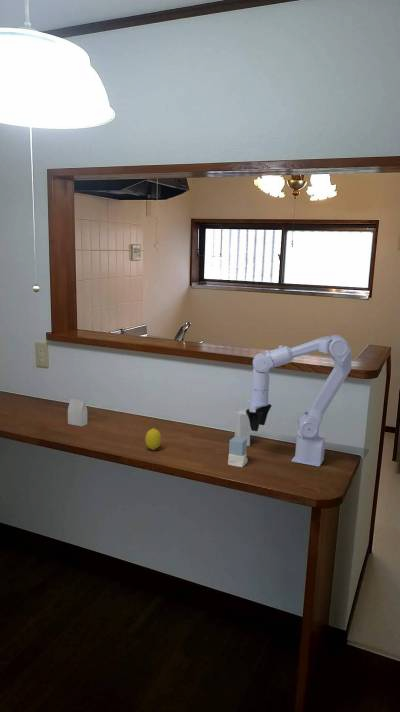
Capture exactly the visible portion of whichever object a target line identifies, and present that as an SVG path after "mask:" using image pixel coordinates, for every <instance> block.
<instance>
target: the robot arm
mask: <svg viewBox="0 0 400 712" xmlns="http://www.w3.org/2000/svg"><path fill="white" fill-rule="evenodd" d="M316 352H320V353H324V354H328V353H330V355H331V358H332V361H333V364H334V367H333V369H332V370H331V372H330V373H329V375H328V377H327V378H326V380H325V381H324V383H323V385H322V387H321V389H320V390H319V392H318V393H317V395H316V397H315V398H314V400H313V401H312V404H311V405H310V406H308V407H307V409H306V411H305V412H303V413H302V414H300V415H299V416H298V419H297V424H298V427H299V430H298V431H297V432H296V438H295V439H296V440H295V441H296V442H295V454H294V456H293V458H292V459H291V462H292V463H298V464H304V465H309V466H312V467H313V466H315V467H321V465H322V463H323V461H324V458H325V448H326V447H325V446H326V438H324V437H321V436H319V431H320V425H321V424H322V422H323V418H324V414H325V412H326V411H327V409H328V408H329V406H330V405H331V403H332V402H333V400H334V398H335V397H336V395H337V393H338V391H339V390H340V388H341V387H342V385H343V383H344V381H345V379H347V377H348V376H349V373H350V372H351V370H352V349H351V346H350V344H349V343H348V340H346V339H345V338H344V337H343V336H342V335H340V334H331V335H330V336H329V335H327V336H323V337H322V336H321V337H319V338H317V339H314V340H310V341H307V342H304V343H302V344H299V345H297V346H293V347H290V346H287V345H284V346H283V345H282V344H281V345H278V347H277V348H275V349H271V350H268V349H267V350H265V351H264V352H259V353H257V354H255V355H254V357H253V360H252V367H253V369H252V376H251V392H250V393H251V395H250V396H251V397H250V399H248V400H247V403H249V404H250V406H249V408H247V409H245V410H246V414H247V415H248V418H249V421H250V432H251V431H253V432H258V431H259V428H260V426H265V425H266V421H267V418H268V415H269V414H268V413H269V412H270V410H271V408H272V404H269V387H270V375H269V374H270V369H272V368H276V367H280V366H283V365H287V364H290V363H292V362H293V360H294V358H296V357H301V356H303V355H304V356H305V355H307V354H313V353H316Z"/></svg>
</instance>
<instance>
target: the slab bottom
mask: <svg viewBox="0 0 400 712" xmlns="http://www.w3.org/2000/svg"><path fill="white" fill-rule="evenodd" d="M247 463H248V457H246V458H245V460H244V462H235V461H228V460H227V465H228V466H229V465H230V466H234V467H239V468H243V467H245V465H246V464H247Z"/></svg>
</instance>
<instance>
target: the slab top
mask: <svg viewBox="0 0 400 712" xmlns="http://www.w3.org/2000/svg"><path fill="white" fill-rule="evenodd" d="M245 458H247V451H246V452H245V453H244V455H243V456H239V455H233V454H229V453H228V460H227V462H228V461H235V462H244V460H245Z"/></svg>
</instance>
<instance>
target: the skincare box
mask: <svg viewBox="0 0 400 712" xmlns="http://www.w3.org/2000/svg"><path fill="white" fill-rule="evenodd" d="M246 410H247V409H239V410H238V409H236V410H235V411H234V437H239V438H246V439H247V447H250V445H251V427H250V421H249V418H248V415H247V414H246Z"/></svg>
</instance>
